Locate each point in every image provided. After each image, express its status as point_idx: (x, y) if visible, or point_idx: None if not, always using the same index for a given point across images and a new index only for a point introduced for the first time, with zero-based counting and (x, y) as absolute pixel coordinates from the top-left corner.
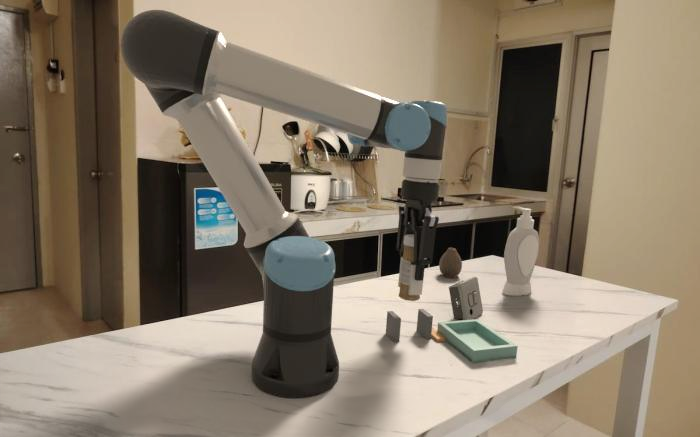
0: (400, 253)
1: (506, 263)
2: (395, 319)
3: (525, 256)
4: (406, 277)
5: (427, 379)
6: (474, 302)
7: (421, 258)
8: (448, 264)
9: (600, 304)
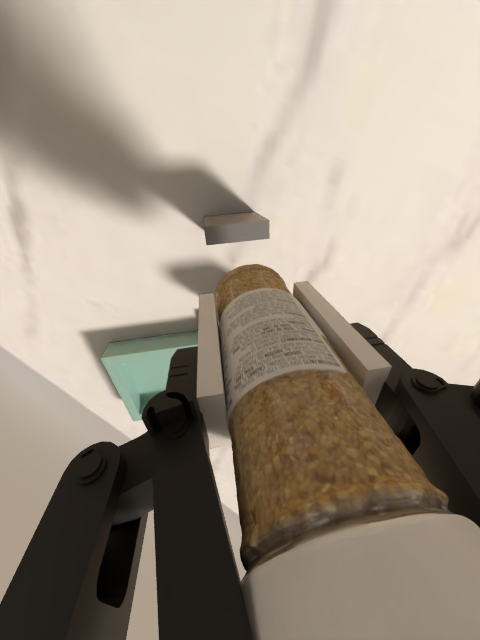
0: (421, 381)
1: None
2: (206, 226)
3: None
4: (237, 318)
5: (5, 230)
6: None
7: (46, 511)
8: None
9: None
